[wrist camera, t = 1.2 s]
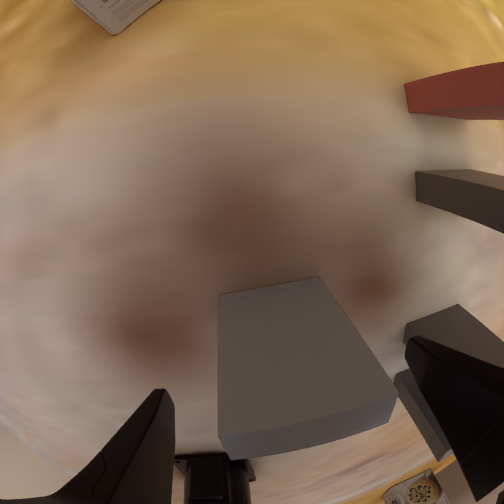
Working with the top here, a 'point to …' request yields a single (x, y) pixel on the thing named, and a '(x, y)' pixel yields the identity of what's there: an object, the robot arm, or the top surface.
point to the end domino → (460, 93)
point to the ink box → (114, 12)
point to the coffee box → (417, 491)
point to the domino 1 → (294, 372)
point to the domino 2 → (422, 414)
